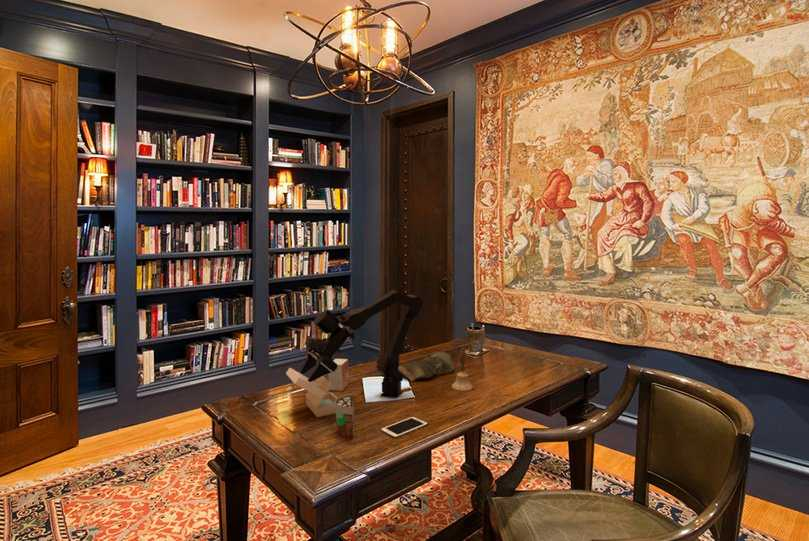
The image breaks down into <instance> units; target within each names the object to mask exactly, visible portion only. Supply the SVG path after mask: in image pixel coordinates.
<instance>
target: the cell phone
mask: <svg viewBox="0 0 809 541" xmlns="http://www.w3.org/2000/svg"><path fill="white" fill-rule="evenodd" d="M426 425H428V426H429V423H428V421H425V420H423V419H421V418H419V417H417V416H409V417H407V418H404V419H402V420H398V421H397V422H394V423H391V424H388V425H386V426H383V427H381V428H380V429H379V430H380V431H379V432H380V433H383V434H384V435H387V437H390V438H392V439H394V438H396V439H399V438H402V437H404V436H406V435H409V434H411V433H413V431H414V432H416V431H417V429H419V430H420V428H421V429H423V428H425V427H424V426H426ZM422 427H423V428H422ZM426 427H427V426H426ZM415 430H416V431H415ZM410 432H411V433H410ZM408 433H409V434H408ZM403 435H404V436H403ZM401 436H402V437H401ZM398 437H399V438H398Z"/></svg>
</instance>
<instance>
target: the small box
mask: <svg viewBox="0 0 809 541" xmlns="http://www.w3.org/2000/svg"><path fill="white" fill-rule="evenodd" d="M333 361H334V362H335V363H336V364H337V369H336V370H335V372H333V371H331V370H330V371H331V373H328V381H329V382H330V383H331V384H332V385H331V387H330V389H329V390H328V391H339V392H340V391H341V392H342V391H344V389H346V387H347V386H349V359H346V358H334V360H333Z"/></svg>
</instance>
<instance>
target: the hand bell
mask: <svg viewBox="0 0 809 541" xmlns="http://www.w3.org/2000/svg"><path fill="white" fill-rule="evenodd" d="M466 359H467V352H466V349H465V347H461V348H460V351H459V363H460V369H459V370H460V372H457V373H456V379H455V381H454V382H453V383H452V385H451V389H453V390H456V391H459V392H460V391H461V392H468V391H471V390H473V388H474V386H473V385H472V384H471V382H470V378H469V374H468V373H467V372H466V368H465V367H466V366H465V365H466V361H467V360H466Z"/></svg>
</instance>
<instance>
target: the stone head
mask: <svg viewBox="0 0 809 541" xmlns="http://www.w3.org/2000/svg"><path fill="white" fill-rule="evenodd" d="M451 358H452V355H451V354H450V353H448V352H443V351H439V352H435V353H434V354H432V355H430V356H426V357H425V358H423V359H422V360H415V361H409V362H405V363H402V364H399V368H398V371H399V372H401V373H402V374H403V375H404V377H406V378H407V379H408V380H409V381H410V382H411V383H414V382H416V381H418V380H419V379H430V378H432V377H434V375H435V376H441V375H448V374H451V373H452V372H454V369H455V366H454V362H453V360H452V359H451Z"/></svg>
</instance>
